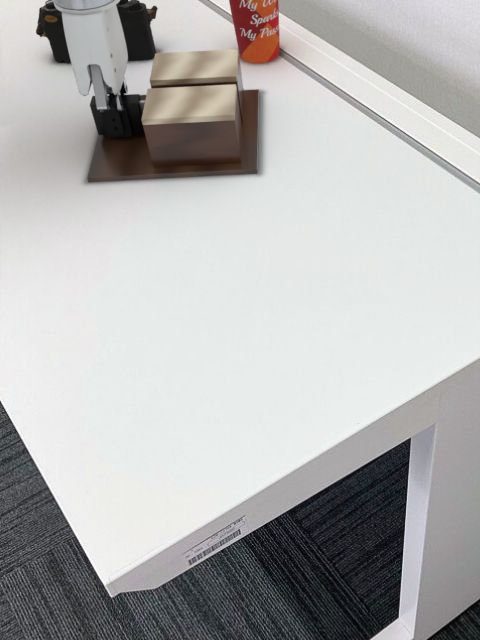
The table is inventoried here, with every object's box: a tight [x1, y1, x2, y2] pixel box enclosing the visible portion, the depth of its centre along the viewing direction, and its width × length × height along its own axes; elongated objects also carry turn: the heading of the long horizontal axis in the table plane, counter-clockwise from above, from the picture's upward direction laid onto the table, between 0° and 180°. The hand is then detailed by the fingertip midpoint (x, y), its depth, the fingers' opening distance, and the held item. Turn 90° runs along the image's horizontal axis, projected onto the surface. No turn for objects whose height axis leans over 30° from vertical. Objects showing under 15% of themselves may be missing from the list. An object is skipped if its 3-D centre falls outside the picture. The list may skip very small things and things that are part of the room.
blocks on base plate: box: [86, 48, 260, 183], centre depth 99 cm, size 21×19×8 cm
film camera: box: [35, 0, 159, 64], centre depth 114 cm, size 18×12×10 cm
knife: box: [89, 93, 145, 136], centre depth 99 cm, size 18×2×4 cm, turn 94°
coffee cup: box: [228, 0, 281, 64], centre depth 110 cm, size 8×8×15 cm
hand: (121, 128), depth 100 cm, fingers closed on knife, 2 cm apart
